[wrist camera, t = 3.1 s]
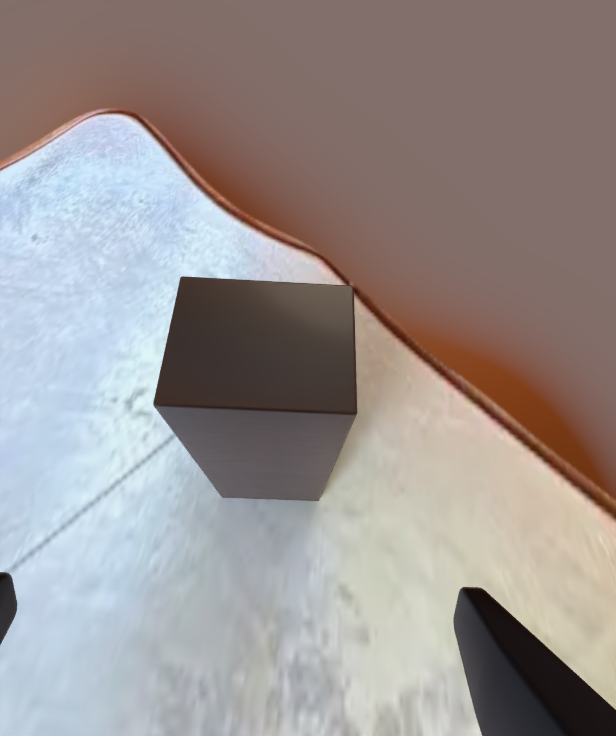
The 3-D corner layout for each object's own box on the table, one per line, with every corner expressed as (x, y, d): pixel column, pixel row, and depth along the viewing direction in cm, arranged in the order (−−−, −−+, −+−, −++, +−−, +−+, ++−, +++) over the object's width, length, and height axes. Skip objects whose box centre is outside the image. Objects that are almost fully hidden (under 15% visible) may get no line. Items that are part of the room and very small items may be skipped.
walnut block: (319, 501, 21) (357, 414, 10) (221, 497, 21) (151, 405, 10) (320, 427, 23) (353, 284, 12) (230, 423, 23) (179, 275, 12)
